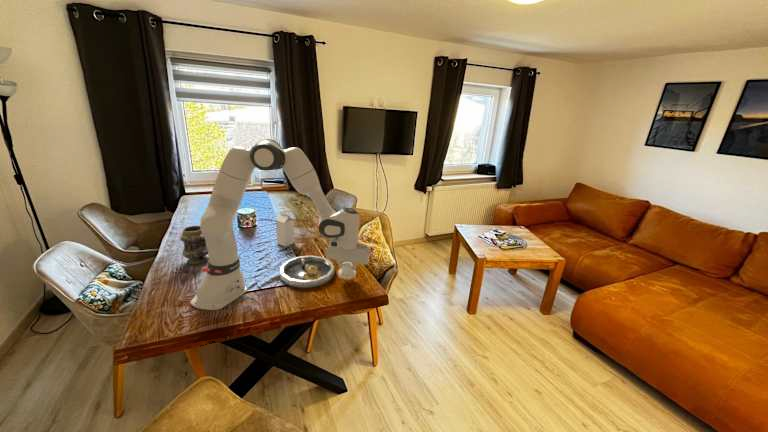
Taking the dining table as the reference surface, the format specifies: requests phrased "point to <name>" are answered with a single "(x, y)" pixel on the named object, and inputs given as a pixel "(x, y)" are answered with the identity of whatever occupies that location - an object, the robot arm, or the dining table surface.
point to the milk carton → (285, 230)
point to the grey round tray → (306, 271)
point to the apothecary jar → (194, 246)
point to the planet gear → (346, 271)
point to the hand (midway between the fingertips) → (347, 268)
